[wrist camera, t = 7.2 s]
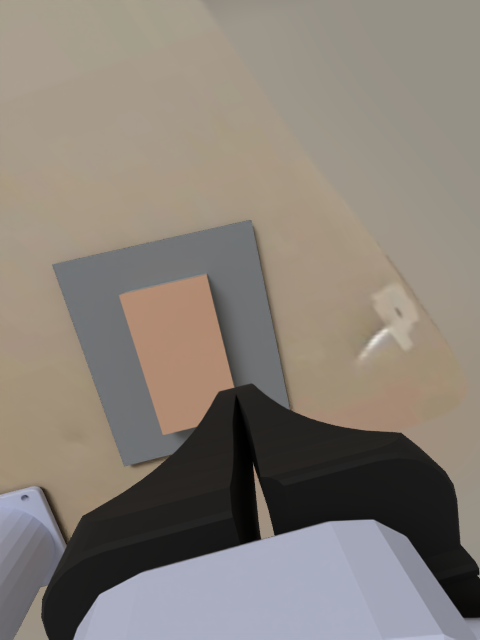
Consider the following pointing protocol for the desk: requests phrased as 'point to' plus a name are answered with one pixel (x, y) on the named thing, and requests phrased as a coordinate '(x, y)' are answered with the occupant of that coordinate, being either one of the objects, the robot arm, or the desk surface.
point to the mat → (116, 340)
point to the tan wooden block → (179, 349)
